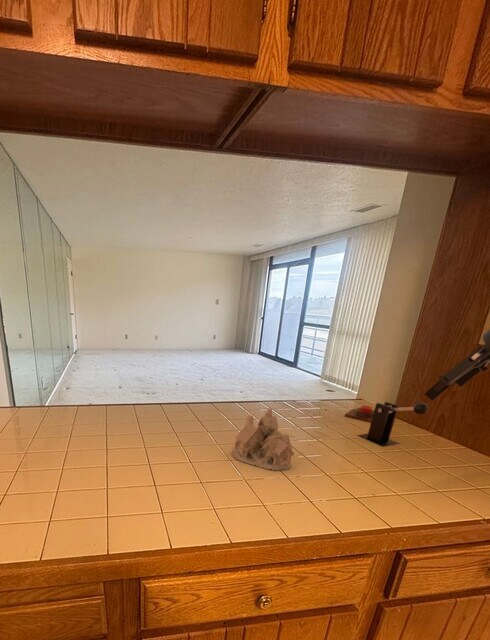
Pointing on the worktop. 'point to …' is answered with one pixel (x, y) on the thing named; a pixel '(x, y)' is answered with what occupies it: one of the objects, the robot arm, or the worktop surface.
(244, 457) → the ceramic cottage
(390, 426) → the bracket
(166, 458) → the worktop surface
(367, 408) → the red button
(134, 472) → the worktop surface
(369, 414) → the button block
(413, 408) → the switch lever
